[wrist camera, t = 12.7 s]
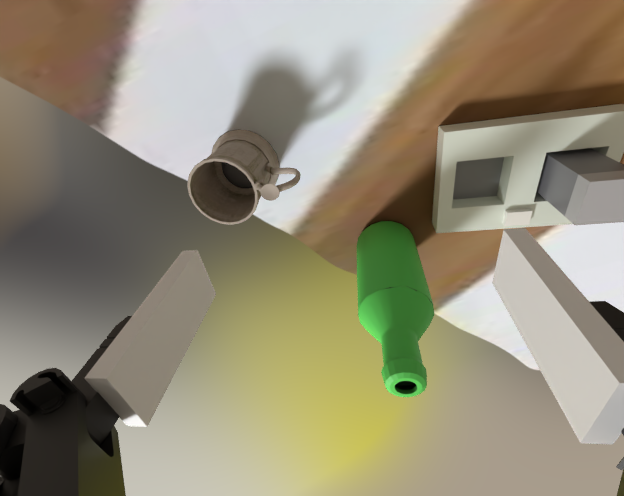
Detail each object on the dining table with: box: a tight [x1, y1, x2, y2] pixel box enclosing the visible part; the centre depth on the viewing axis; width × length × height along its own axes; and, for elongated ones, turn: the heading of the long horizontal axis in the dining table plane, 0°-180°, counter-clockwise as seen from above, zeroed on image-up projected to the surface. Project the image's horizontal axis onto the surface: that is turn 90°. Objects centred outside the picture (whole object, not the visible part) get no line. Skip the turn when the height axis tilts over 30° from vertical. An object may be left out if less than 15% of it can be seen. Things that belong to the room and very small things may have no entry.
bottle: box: [357, 221, 434, 397], centre depth 40 cm, size 9×9×25 cm
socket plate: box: [432, 104, 624, 233], centre depth 40 cm, size 14×20×4 cm
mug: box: [187, 130, 300, 225], centre depth 40 cm, size 14×10×12 cm
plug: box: [537, 148, 624, 225], centre depth 37 cm, size 5×5×10 cm
